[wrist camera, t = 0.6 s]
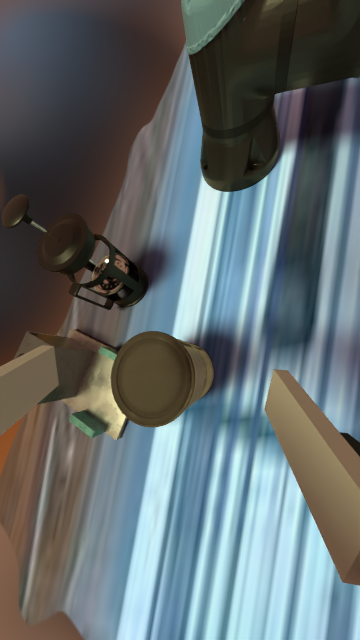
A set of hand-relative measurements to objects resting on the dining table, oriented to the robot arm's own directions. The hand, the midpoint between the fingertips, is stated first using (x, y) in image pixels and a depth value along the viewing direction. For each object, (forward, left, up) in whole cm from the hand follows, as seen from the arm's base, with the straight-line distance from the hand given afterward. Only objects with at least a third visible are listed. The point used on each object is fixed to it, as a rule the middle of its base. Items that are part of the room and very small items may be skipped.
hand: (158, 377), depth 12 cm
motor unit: (+12, -22, -23) cm, 34 cm away
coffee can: (+3, -5, -23) cm, 24 cm away
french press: (-8, -24, -23) cm, 34 cm away
